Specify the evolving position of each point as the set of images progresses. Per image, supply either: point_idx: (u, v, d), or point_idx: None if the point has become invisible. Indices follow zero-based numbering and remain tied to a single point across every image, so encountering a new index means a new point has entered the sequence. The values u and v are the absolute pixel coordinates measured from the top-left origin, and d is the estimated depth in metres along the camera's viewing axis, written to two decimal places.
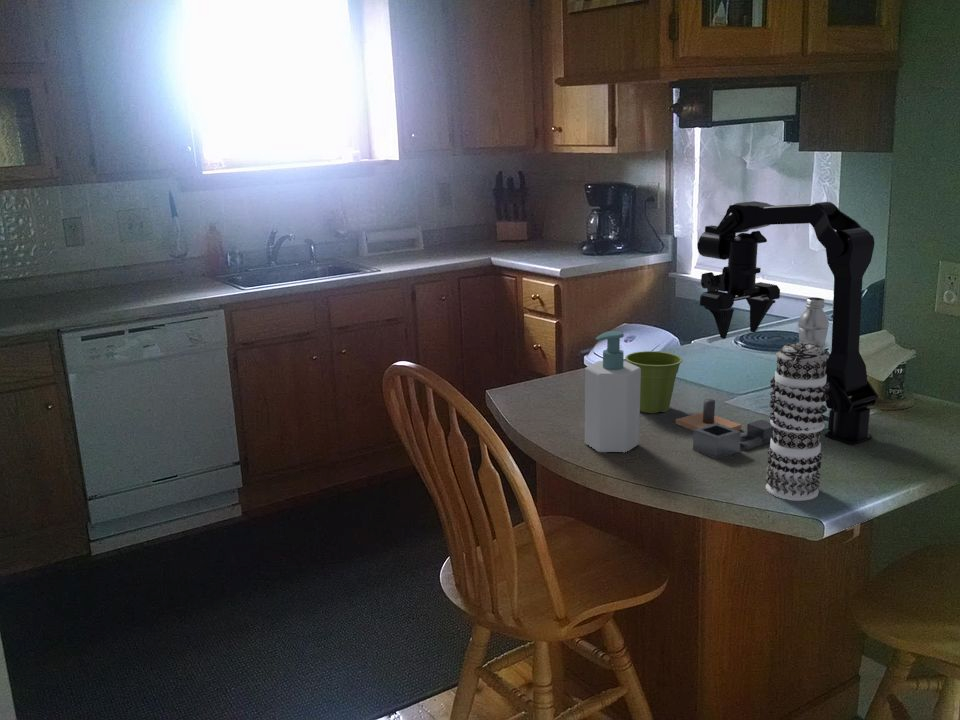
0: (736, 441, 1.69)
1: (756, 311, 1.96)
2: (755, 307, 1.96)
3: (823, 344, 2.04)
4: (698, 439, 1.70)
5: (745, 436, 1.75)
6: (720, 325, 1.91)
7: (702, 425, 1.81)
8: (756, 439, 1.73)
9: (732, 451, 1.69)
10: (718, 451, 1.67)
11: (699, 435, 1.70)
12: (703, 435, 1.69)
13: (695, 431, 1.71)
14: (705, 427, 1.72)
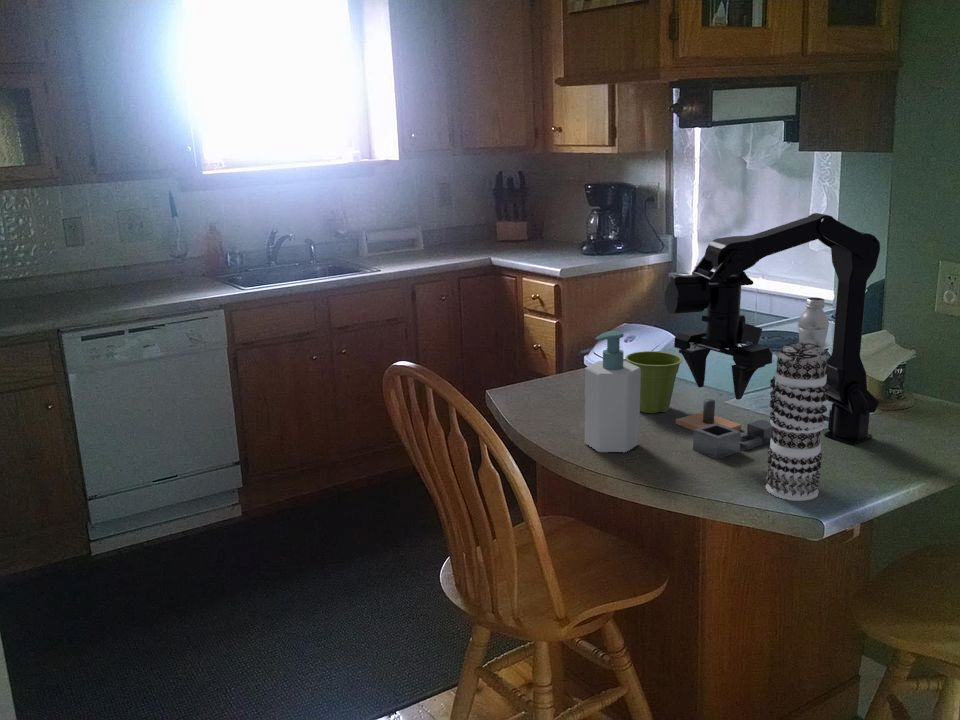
0: (736, 441, 1.69)
1: None
2: None
3: (823, 344, 2.04)
4: (698, 439, 1.70)
5: (745, 436, 1.75)
6: None
7: (702, 425, 1.81)
8: (756, 439, 1.73)
9: (732, 451, 1.69)
10: (718, 451, 1.67)
11: (699, 435, 1.70)
12: (703, 435, 1.69)
13: (695, 431, 1.71)
14: (705, 427, 1.72)
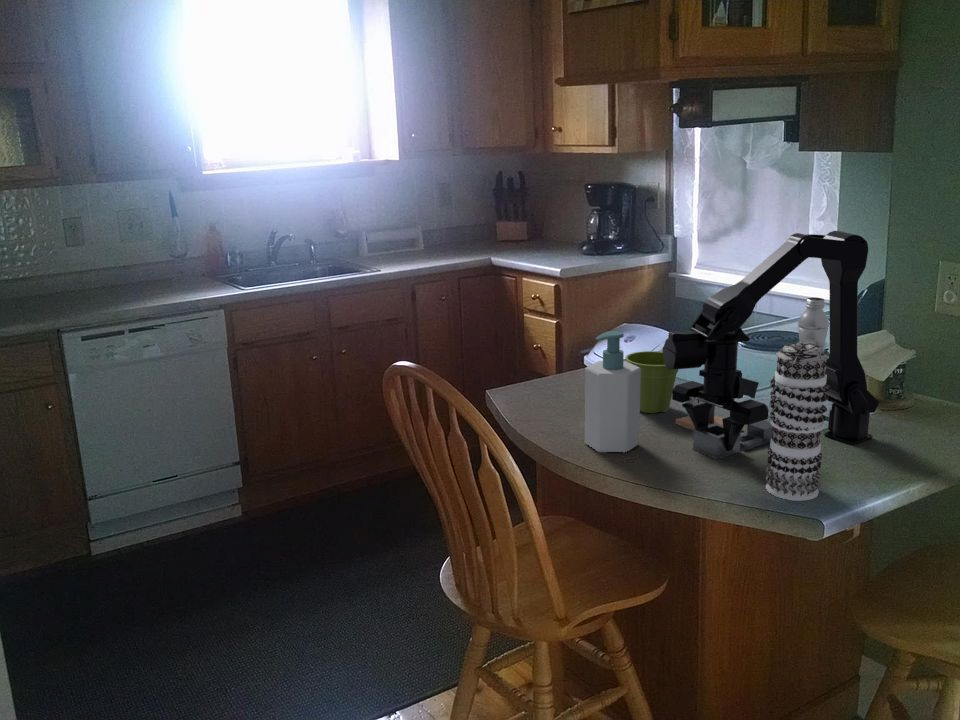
0: (736, 441, 1.69)
1: None
2: None
3: (823, 344, 2.04)
4: (698, 439, 1.70)
5: (745, 436, 1.75)
6: None
7: None
8: (756, 439, 1.73)
9: (732, 451, 1.69)
10: (718, 451, 1.67)
11: (699, 435, 1.70)
12: (703, 435, 1.69)
13: (695, 431, 1.71)
14: (705, 427, 1.72)
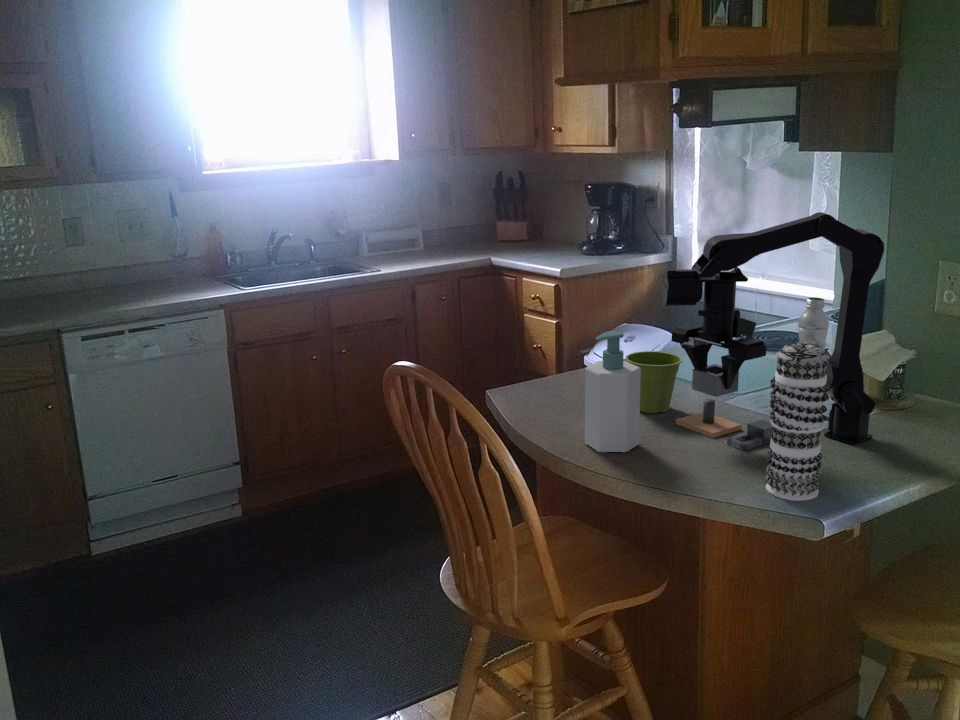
0: (734, 380, 1.72)
1: None
2: None
3: (823, 344, 2.04)
4: (697, 378, 1.74)
5: (745, 436, 1.75)
6: None
7: (702, 425, 1.81)
8: (756, 439, 1.73)
9: (731, 390, 1.72)
10: (717, 389, 1.70)
11: (698, 375, 1.73)
12: (702, 374, 1.72)
13: (694, 371, 1.74)
14: (704, 367, 1.75)
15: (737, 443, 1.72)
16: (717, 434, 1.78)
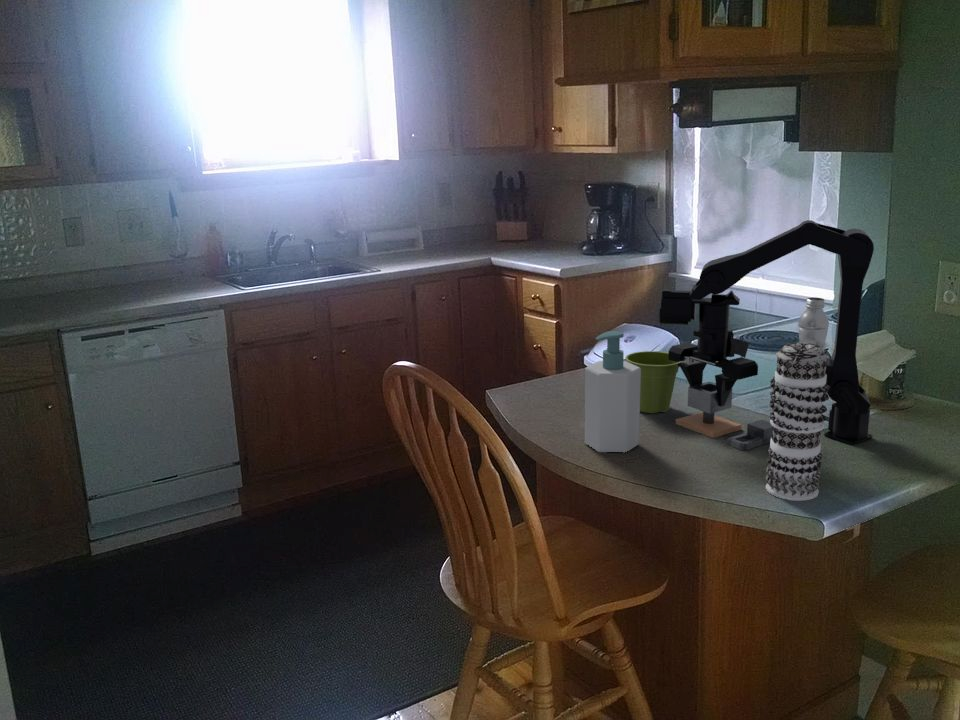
0: (728, 397, 1.80)
1: None
2: None
3: (823, 344, 2.04)
4: (692, 396, 1.82)
5: (745, 436, 1.75)
6: None
7: (702, 425, 1.81)
8: (756, 439, 1.73)
9: (724, 407, 1.80)
10: (711, 406, 1.78)
11: (693, 392, 1.81)
12: (697, 391, 1.80)
13: (689, 388, 1.82)
14: (699, 385, 1.83)
15: (737, 443, 1.72)
16: (717, 434, 1.78)
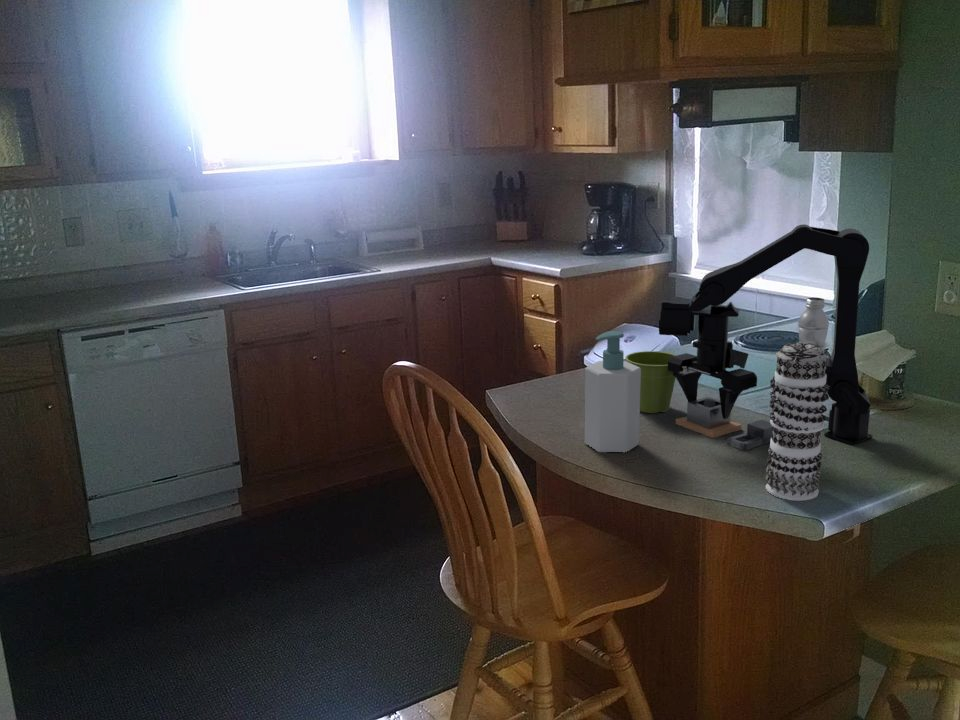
0: None
1: None
2: None
3: (823, 344, 2.04)
4: (691, 411, 1.82)
5: (745, 436, 1.75)
6: None
7: None
8: (756, 439, 1.73)
9: (723, 422, 1.81)
10: (710, 422, 1.79)
11: (692, 408, 1.82)
12: (696, 407, 1.81)
13: (689, 404, 1.83)
14: (698, 400, 1.84)
15: (737, 443, 1.72)
16: (717, 434, 1.78)
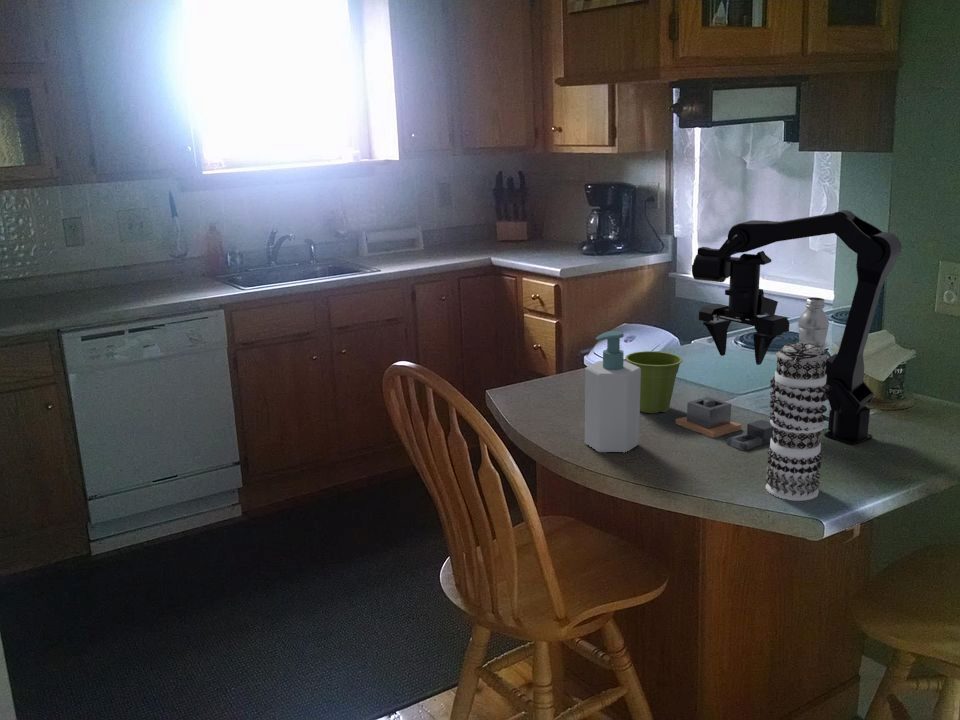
0: (727, 413, 1.81)
1: None
2: None
3: (823, 344, 2.04)
4: (691, 411, 1.82)
5: (745, 436, 1.75)
6: None
7: None
8: (756, 439, 1.73)
9: (723, 422, 1.81)
10: (710, 422, 1.79)
11: (692, 408, 1.82)
12: (696, 407, 1.81)
13: (689, 404, 1.83)
14: (698, 400, 1.84)
15: (737, 443, 1.72)
16: (717, 434, 1.78)
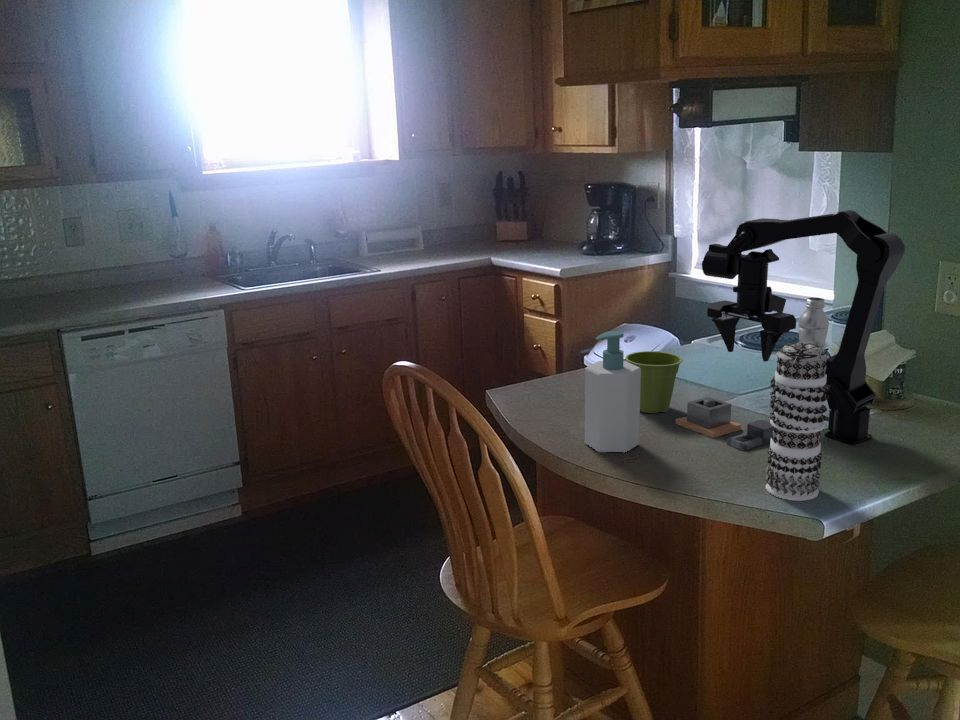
0: (727, 413, 1.81)
1: None
2: None
3: (823, 344, 2.04)
4: (691, 411, 1.82)
5: (745, 436, 1.75)
6: None
7: None
8: (756, 439, 1.73)
9: (723, 422, 1.81)
10: (710, 422, 1.79)
11: (692, 408, 1.82)
12: (696, 407, 1.81)
13: (689, 404, 1.83)
14: (698, 400, 1.84)
15: (737, 443, 1.72)
16: (717, 434, 1.78)
